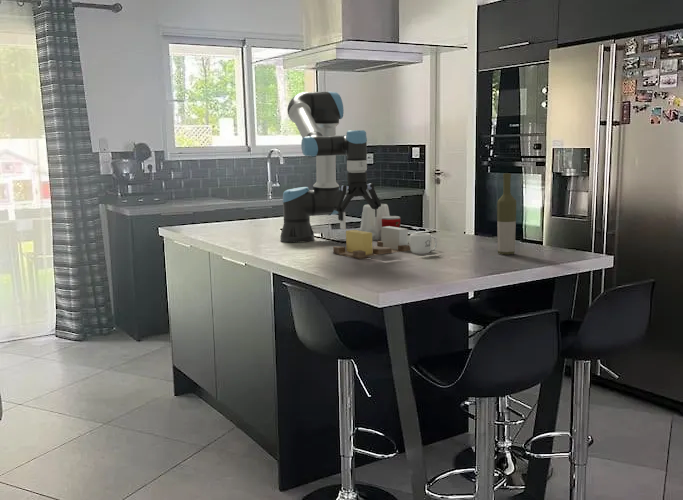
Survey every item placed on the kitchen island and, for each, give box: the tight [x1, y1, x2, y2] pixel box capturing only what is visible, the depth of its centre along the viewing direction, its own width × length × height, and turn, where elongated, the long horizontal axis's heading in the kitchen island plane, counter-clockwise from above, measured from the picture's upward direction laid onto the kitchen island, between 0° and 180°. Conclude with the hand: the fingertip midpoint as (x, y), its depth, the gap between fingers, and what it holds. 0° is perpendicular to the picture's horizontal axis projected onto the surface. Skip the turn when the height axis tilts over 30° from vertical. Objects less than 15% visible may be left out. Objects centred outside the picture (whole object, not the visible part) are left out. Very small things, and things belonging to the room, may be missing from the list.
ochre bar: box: [345, 229, 373, 255], centre depth 264 cm, size 12×4×8 cm, turn 32°
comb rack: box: [332, 240, 411, 260], centre depth 268 cm, size 18×24×3 cm
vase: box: [359, 203, 391, 241], centre depth 305 cm, size 14×14×15 cm
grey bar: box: [380, 226, 409, 250], centre depth 273 cm, size 12×4×8 cm, turn 32°
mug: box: [408, 232, 438, 255], centre depth 262 cm, size 12×8×8 cm
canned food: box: [382, 215, 402, 228], centre depth 293 cm, size 8×8×11 cm
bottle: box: [496, 172, 517, 256], centre depth 254 cm, size 7×7×30 cm
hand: (357, 227), depth 263 cm, fingers open, 13 cm apart
